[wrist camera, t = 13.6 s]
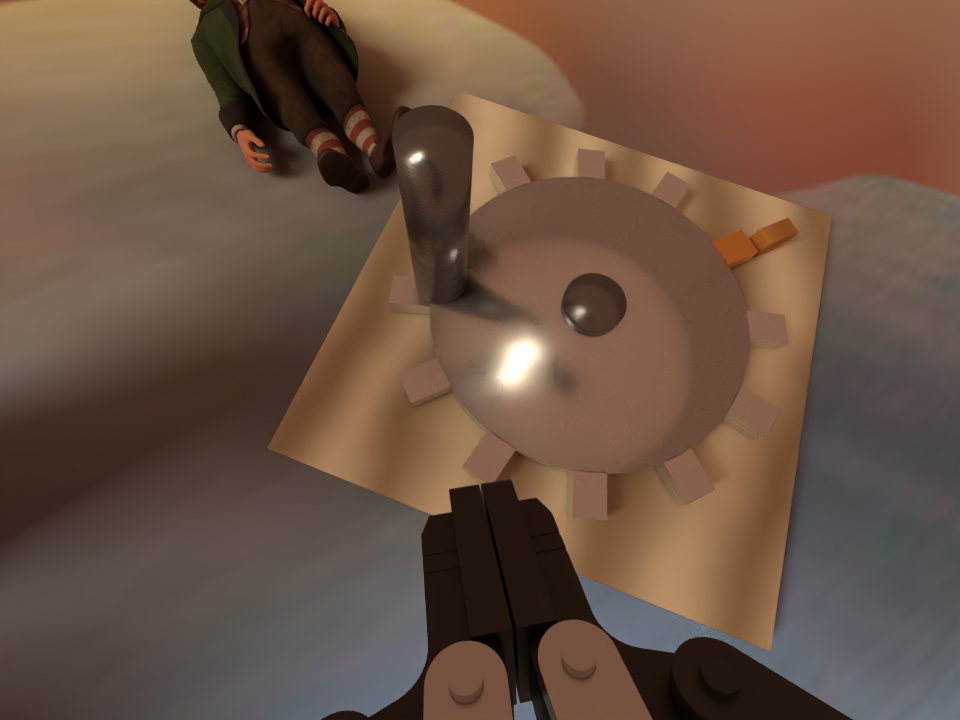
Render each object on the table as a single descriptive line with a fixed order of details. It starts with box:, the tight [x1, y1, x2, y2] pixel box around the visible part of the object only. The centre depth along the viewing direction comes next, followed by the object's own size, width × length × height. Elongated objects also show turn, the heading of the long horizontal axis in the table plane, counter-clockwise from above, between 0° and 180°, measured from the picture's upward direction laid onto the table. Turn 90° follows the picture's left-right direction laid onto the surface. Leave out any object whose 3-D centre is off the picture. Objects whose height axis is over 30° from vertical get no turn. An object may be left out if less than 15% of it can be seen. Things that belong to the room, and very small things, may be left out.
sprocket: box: [389, 105, 788, 521], centre depth 23 cm, size 24×24×12 cm
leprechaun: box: [190, 0, 411, 194], centre depth 33 cm, size 11×10×25 cm
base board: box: [267, 91, 832, 651], centre depth 29 cm, size 28×28×3 cm
